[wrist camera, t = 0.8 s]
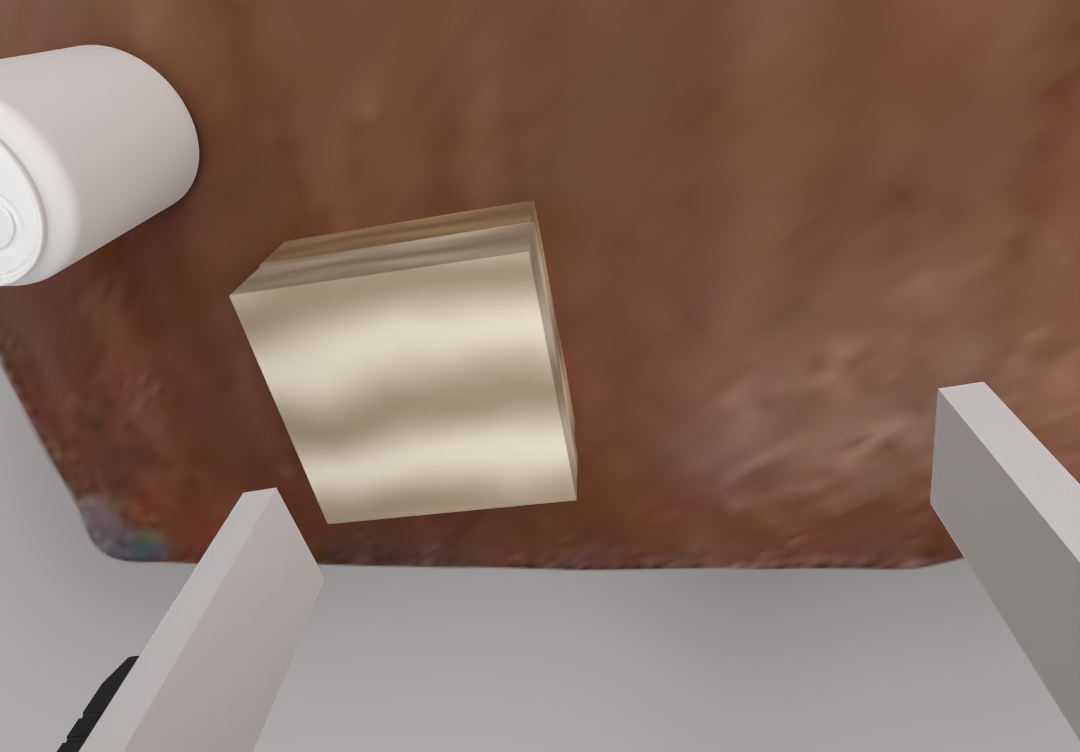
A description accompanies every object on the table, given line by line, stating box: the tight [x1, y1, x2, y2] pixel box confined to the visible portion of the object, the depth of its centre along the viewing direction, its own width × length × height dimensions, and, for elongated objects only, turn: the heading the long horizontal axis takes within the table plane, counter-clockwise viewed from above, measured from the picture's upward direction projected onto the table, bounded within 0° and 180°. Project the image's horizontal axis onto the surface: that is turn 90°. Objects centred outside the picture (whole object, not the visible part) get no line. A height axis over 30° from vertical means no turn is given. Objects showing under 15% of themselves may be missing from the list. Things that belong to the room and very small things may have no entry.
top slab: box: [229, 222, 577, 524], centre depth 36 cm, size 14×14×4 cm
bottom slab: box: [259, 200, 575, 438], centre depth 40 cm, size 14×14×4 cm
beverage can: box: [0, 45, 199, 286], centre depth 31 cm, size 8×8×12 cm
